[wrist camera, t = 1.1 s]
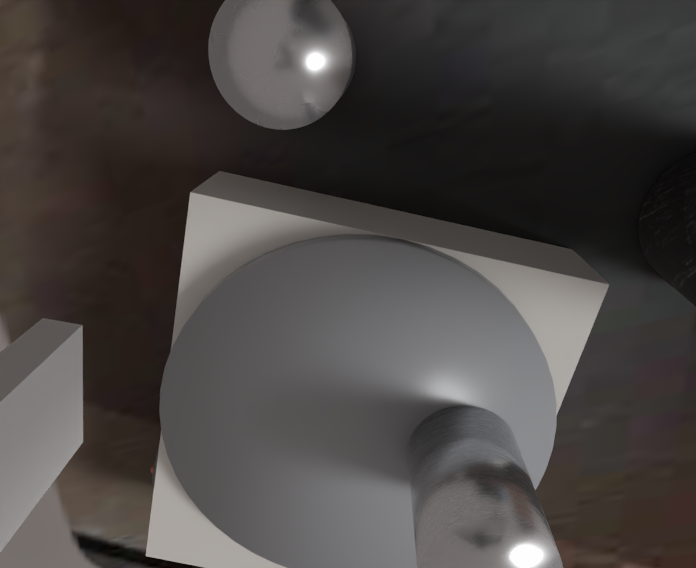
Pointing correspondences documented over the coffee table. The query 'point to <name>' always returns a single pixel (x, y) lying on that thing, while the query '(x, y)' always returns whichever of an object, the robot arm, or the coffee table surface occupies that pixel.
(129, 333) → the coffee table surface
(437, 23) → the coffee table surface
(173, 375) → the scale
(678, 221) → the travel mug
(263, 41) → the cylinder
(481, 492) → the cylinder
